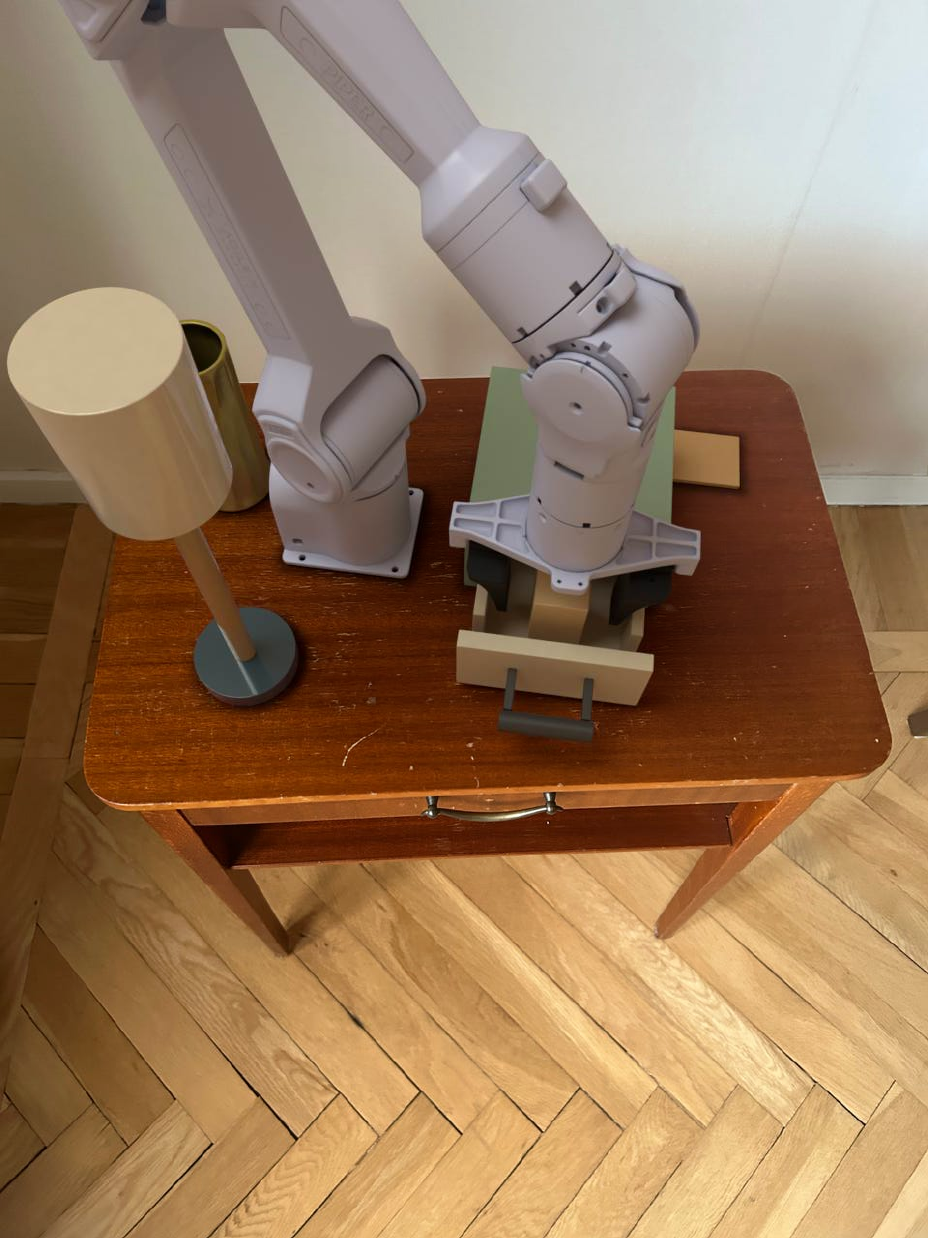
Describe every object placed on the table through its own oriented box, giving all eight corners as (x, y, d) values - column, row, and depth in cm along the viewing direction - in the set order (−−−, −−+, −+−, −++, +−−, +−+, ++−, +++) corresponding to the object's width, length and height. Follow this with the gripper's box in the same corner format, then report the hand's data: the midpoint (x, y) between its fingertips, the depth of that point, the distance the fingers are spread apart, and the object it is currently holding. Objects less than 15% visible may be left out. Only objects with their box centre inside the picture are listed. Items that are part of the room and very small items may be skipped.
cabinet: (647, 608, 64) (670, 553, 57) (463, 585, 65) (465, 528, 58) (654, 451, 71) (676, 386, 64) (488, 432, 72) (492, 365, 65)
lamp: (187, 699, 61) (-22, 403, 34) (214, 610, 64) (43, 277, 37) (286, 712, 60) (153, 424, 34) (308, 623, 63) (204, 295, 37)
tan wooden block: (526, 645, 60) (533, 603, 55) (532, 594, 62) (539, 550, 57) (576, 651, 60) (588, 610, 55) (581, 601, 62) (593, 556, 57)
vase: (260, 519, 67) (215, 390, 55) (184, 505, 68) (122, 375, 55) (283, 457, 70) (246, 321, 58) (210, 444, 71) (157, 307, 58)
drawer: (633, 766, 58) (650, 736, 53) (447, 741, 58) (446, 708, 53) (644, 540, 66) (660, 495, 61) (481, 520, 67) (483, 474, 61)
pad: (662, 480, 70) (663, 477, 69) (664, 431, 72) (665, 428, 72) (738, 489, 69) (739, 486, 69) (737, 439, 72) (739, 436, 71)
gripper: (440, 529, 46) (443, 644, 58) (720, 563, 45) (664, 672, 57) (459, 424, 49) (458, 554, 61) (721, 454, 48) (668, 579, 60)
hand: (558, 605), depth 59 cm, fingers open, 7 cm apart
